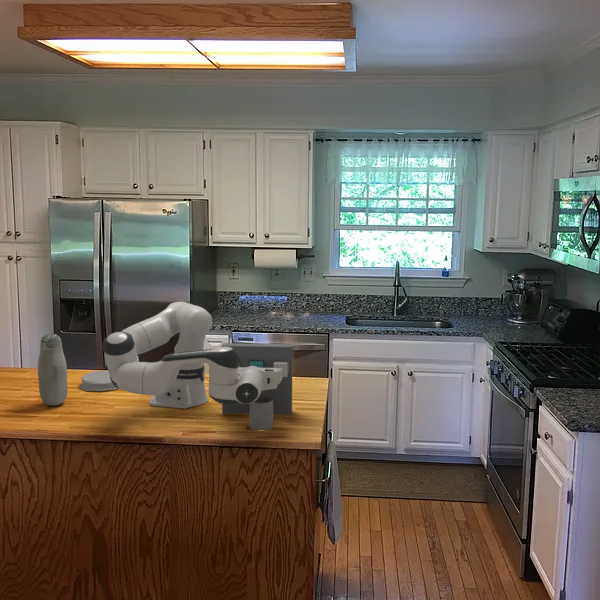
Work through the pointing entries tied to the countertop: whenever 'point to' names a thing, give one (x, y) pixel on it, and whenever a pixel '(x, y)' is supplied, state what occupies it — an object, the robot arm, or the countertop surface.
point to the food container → (97, 381)
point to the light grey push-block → (282, 366)
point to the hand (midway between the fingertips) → (256, 368)
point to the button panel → (269, 355)
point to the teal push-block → (257, 363)
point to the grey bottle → (52, 371)
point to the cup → (261, 413)
